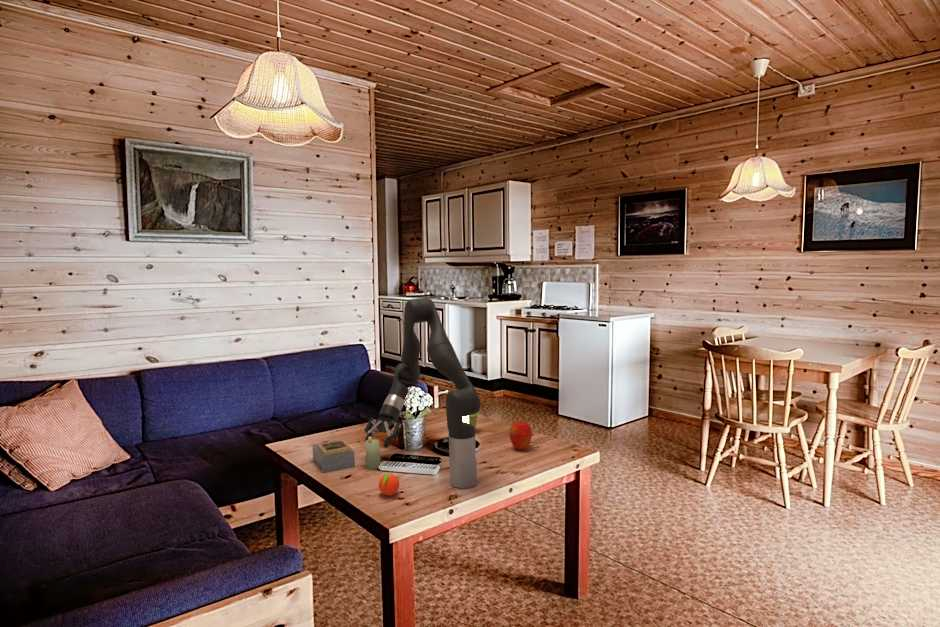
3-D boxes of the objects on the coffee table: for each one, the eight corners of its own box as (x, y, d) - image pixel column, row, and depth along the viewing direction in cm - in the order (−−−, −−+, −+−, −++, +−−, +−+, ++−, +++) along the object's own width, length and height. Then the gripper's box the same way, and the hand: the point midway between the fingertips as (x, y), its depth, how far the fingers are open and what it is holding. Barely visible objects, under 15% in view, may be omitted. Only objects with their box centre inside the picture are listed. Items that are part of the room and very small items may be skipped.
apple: (508, 445, 237) (508, 417, 235) (530, 444, 237) (530, 416, 235) (510, 453, 227) (510, 424, 226) (533, 452, 227) (532, 423, 226)
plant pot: (464, 428, 261) (464, 409, 260) (482, 431, 256) (482, 412, 255) (453, 433, 253) (453, 414, 252) (472, 437, 248) (471, 417, 247)
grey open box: (354, 466, 216) (354, 447, 216) (323, 472, 211) (322, 453, 210) (342, 453, 230) (342, 435, 230) (313, 459, 225) (312, 440, 224)
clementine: (393, 501, 186) (392, 480, 185) (374, 499, 187) (373, 478, 187) (402, 491, 193) (402, 471, 192) (384, 489, 195) (383, 469, 194)
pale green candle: (372, 463, 219) (370, 433, 218) (383, 465, 217) (381, 434, 216) (363, 468, 215) (362, 437, 213) (375, 470, 212) (373, 439, 211)
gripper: (372, 401, 226) (355, 438, 217) (403, 405, 220) (386, 443, 211) (381, 411, 231) (365, 447, 223) (410, 415, 225) (395, 452, 216)
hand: (375, 445), depth 217 cm, fingers open, 8 cm apart
